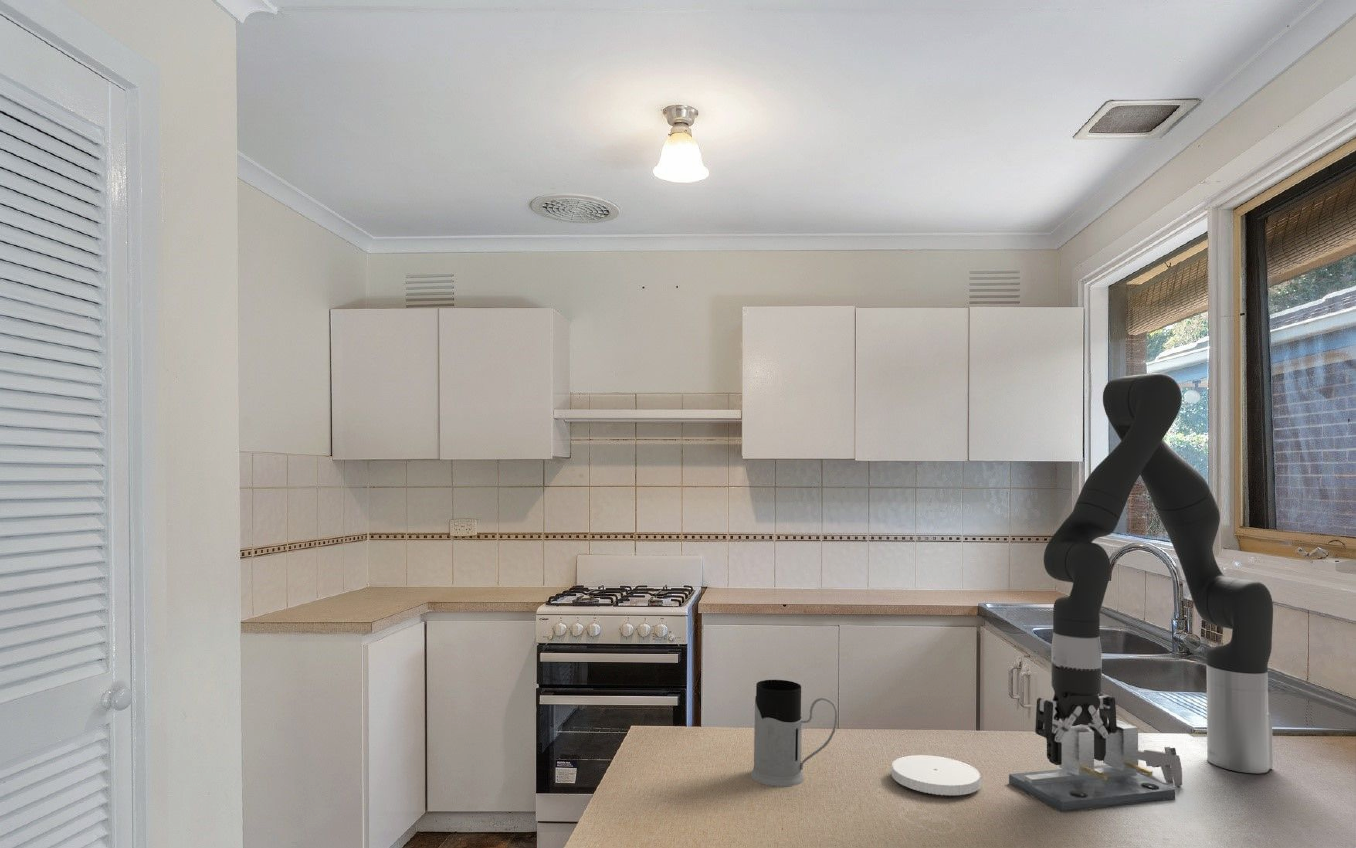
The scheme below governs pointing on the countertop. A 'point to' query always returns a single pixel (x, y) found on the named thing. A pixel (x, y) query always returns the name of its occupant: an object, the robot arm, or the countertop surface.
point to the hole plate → (1090, 788)
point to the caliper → (1164, 763)
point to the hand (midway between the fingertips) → (1076, 761)
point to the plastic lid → (936, 775)
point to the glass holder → (780, 733)
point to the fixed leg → (1124, 749)
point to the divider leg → (1079, 752)
